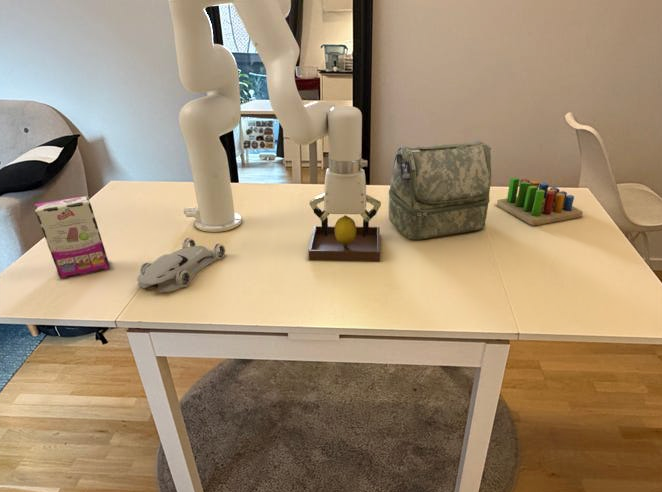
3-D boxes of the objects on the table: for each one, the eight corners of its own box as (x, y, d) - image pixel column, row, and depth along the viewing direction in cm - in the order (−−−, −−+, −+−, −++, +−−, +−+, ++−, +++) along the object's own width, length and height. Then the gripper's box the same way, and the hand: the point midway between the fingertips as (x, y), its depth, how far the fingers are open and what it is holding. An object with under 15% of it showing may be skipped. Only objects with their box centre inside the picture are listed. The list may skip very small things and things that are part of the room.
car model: (229, 254, 135) (226, 235, 132) (167, 301, 117) (163, 280, 114) (191, 247, 138) (188, 228, 135) (126, 291, 120) (120, 270, 117)
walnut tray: (309, 260, 133) (308, 250, 131) (314, 234, 145) (314, 225, 143) (379, 261, 132) (379, 252, 131) (379, 235, 144) (379, 226, 143)
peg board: (582, 217, 155) (590, 187, 150) (532, 226, 149) (539, 196, 144) (543, 197, 168) (549, 169, 162) (495, 205, 162) (500, 176, 157)
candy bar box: (108, 261, 132) (88, 194, 122) (111, 269, 128) (91, 201, 119) (57, 270, 128) (33, 202, 118) (59, 279, 124) (34, 210, 114)
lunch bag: (404, 245, 139) (409, 158, 126) (379, 219, 153) (381, 138, 140) (493, 232, 146) (507, 148, 133) (462, 208, 160) (472, 130, 147)
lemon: (359, 242, 139) (359, 212, 135) (352, 251, 135) (352, 221, 130) (339, 239, 141) (338, 210, 136) (331, 248, 137) (330, 218, 132)
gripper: (382, 160, 129) (379, 229, 139) (309, 159, 129) (312, 227, 140) (382, 171, 123) (379, 241, 133) (306, 169, 123) (309, 240, 134)
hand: (345, 234), depth 136 cm, fingers open, 9 cm apart
